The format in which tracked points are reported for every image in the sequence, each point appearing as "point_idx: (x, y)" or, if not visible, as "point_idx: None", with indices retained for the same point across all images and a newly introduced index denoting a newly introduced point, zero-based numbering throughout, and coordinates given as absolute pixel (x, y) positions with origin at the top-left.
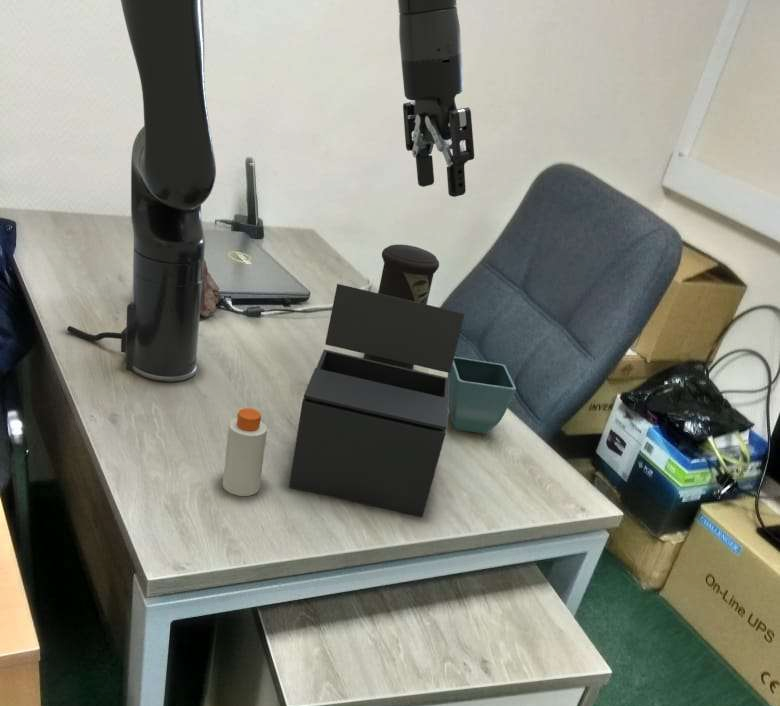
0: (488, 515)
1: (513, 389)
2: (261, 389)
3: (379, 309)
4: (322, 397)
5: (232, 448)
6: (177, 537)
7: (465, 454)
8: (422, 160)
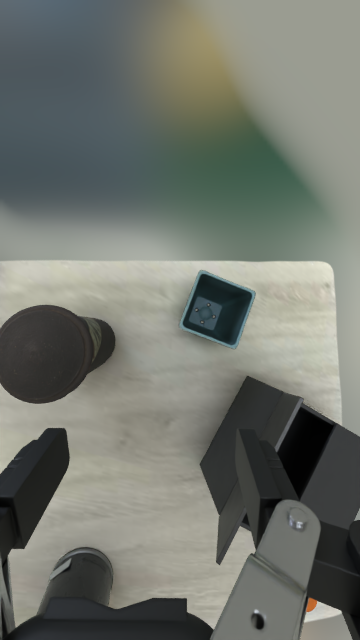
0: (325, 366)
1: (255, 294)
2: (128, 490)
3: None
4: None
5: None
6: None
7: (249, 341)
8: (25, 523)
